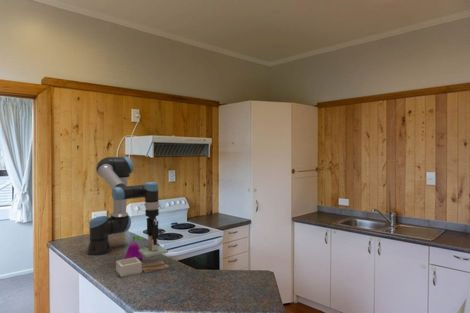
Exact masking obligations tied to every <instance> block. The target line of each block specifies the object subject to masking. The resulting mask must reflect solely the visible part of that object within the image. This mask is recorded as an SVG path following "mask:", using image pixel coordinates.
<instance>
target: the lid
mask: <svg viewBox="0 0 470 313" xmlns="http://www.w3.org/2000/svg"><path fill="white" fill-rule="evenodd" d="M147 236H148V235H147ZM147 239H148V240H147V241H148V246H147V247H144V248H139V252H140V253H141V254H142V256H144V257H145V258H148V257H152V256H153V257H154V256H158V255H162V254H167V253H169V250H167V249H166V248H164V247H163V246H161V245H160V244H159V245H157V250H154V251H152V235H150V236H148V238H147Z"/></svg>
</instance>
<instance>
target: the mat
mask: <svg viewBox="0 0 470 313" xmlns="http://www.w3.org/2000/svg"><path fill="white" fill-rule="evenodd" d="M141 264H142V272H143V273H144V274H148V273H152V272H157V271H161V270H165V269H169V268H170V266H169V265H168V264H166V263H165V262H164V261H163V260H160V259H159V260H155V261H150V262H147V263H146V262H145V263H141Z"/></svg>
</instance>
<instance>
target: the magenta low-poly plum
mask: <svg viewBox="0 0 470 313" xmlns="http://www.w3.org/2000/svg"><path fill="white" fill-rule="evenodd" d="M136 241H144V238H141V237H140V236H136V237H135V236H133V241H132V242H131V243H130V244H129V246H128V248H127V251H126V253H125V256H124V258H123V259H128V258H133V257H136V258H137V259H138V260H140V261H141V260H142V258H143V255H142V254H141V253H140V252H139V249H140V246H139V244H138V243H137V242H136Z"/></svg>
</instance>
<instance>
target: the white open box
mask: <svg viewBox="0 0 470 313" xmlns="http://www.w3.org/2000/svg"><path fill="white" fill-rule="evenodd" d="M142 264H143V263H142V261H141V260H138V259H137V258H136V257H133V258H128V259H124V258H123V259H118V260H115V269H116V270H115V271H116V273H117V274H118V276H119V277H120V278H125V277H129V276H130V277H131V276H133V275H140V274H142V272H143V271H142Z"/></svg>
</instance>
